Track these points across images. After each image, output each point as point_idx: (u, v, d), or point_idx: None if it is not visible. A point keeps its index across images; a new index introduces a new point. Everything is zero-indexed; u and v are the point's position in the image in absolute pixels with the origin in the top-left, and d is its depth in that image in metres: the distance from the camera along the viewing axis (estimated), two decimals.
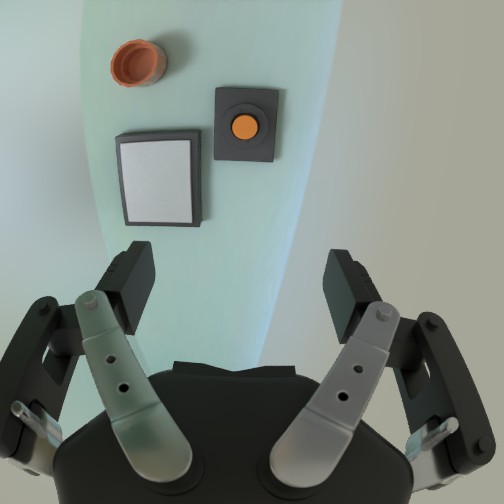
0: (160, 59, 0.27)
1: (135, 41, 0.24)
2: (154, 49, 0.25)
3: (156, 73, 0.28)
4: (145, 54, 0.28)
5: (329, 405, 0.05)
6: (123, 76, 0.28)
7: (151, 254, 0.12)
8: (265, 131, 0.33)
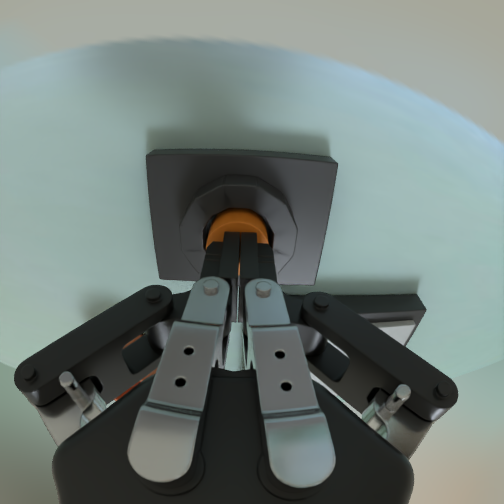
0: None
1: None
2: None
3: None
4: None
5: (281, 401, 0.05)
6: None
7: (239, 244, 0.13)
8: (251, 192, 0.13)
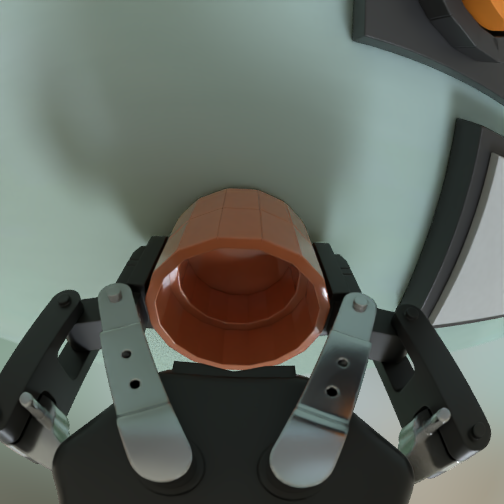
0: (236, 218, 0.09)
1: (152, 310, 0.09)
2: (189, 249, 0.08)
3: (293, 233, 0.09)
4: None
5: (319, 402, 0.05)
6: (269, 322, 0.13)
7: None
8: None
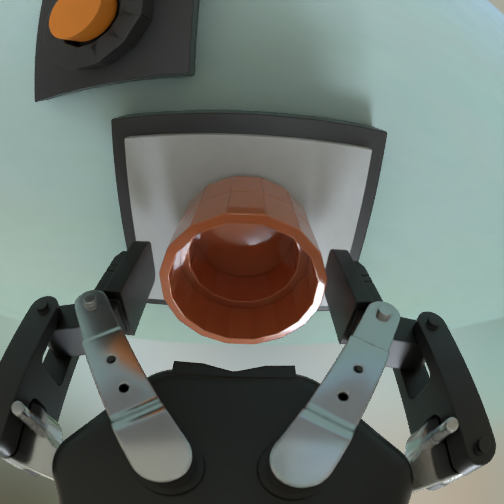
0: (242, 199, 0.10)
1: (165, 283, 0.10)
2: (201, 224, 0.09)
3: (292, 213, 0.10)
4: (212, 234, 0.14)
5: (329, 405, 0.05)
6: (272, 300, 0.14)
7: (151, 254, 0.12)
8: None
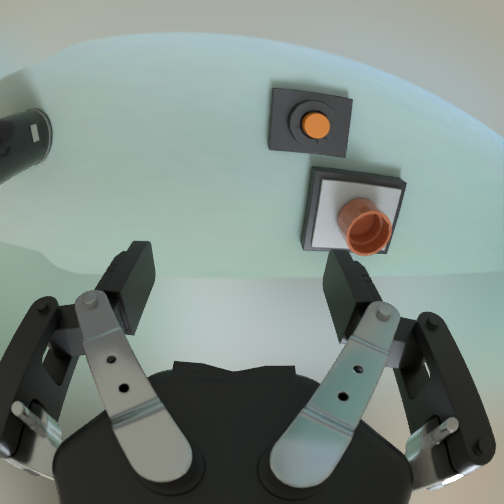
0: (371, 207, 0.33)
1: (348, 231, 0.33)
2: (364, 213, 0.32)
3: (382, 211, 0.33)
4: None
5: (329, 405, 0.05)
6: (369, 241, 0.36)
7: (151, 254, 0.12)
8: (321, 104, 0.29)
